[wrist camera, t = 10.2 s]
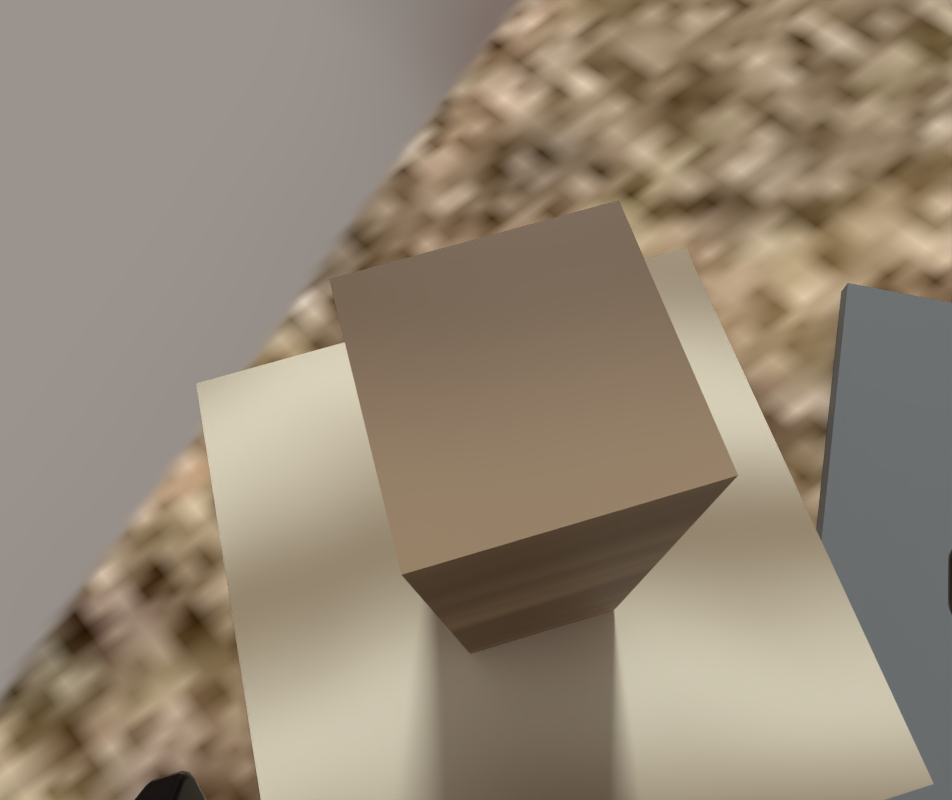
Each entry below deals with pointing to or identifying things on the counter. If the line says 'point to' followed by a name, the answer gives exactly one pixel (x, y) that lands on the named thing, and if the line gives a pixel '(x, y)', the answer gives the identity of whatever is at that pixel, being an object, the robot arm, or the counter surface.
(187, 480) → the counter surface
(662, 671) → the square lid with knob
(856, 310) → the rubber mat
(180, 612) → the counter surface
